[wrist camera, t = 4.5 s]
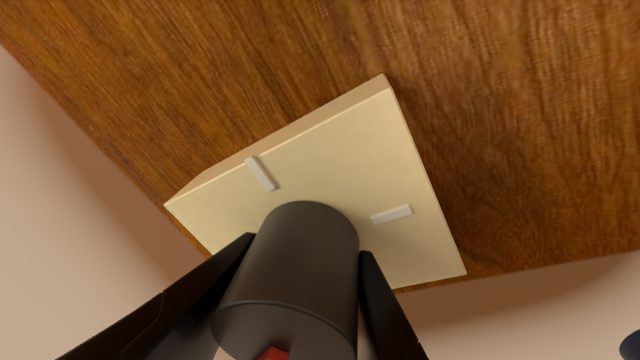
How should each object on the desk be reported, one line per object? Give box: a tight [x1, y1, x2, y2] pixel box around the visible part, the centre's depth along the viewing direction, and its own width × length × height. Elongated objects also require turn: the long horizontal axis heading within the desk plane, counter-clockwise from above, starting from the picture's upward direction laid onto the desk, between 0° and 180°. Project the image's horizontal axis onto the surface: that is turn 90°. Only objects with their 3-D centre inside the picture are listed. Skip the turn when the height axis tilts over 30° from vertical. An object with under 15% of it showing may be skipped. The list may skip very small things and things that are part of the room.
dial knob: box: [210, 201, 359, 360], centre depth 8 cm, size 4×4×4 cm
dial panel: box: [164, 73, 467, 289], centre depth 11 cm, size 10×8×3 cm
